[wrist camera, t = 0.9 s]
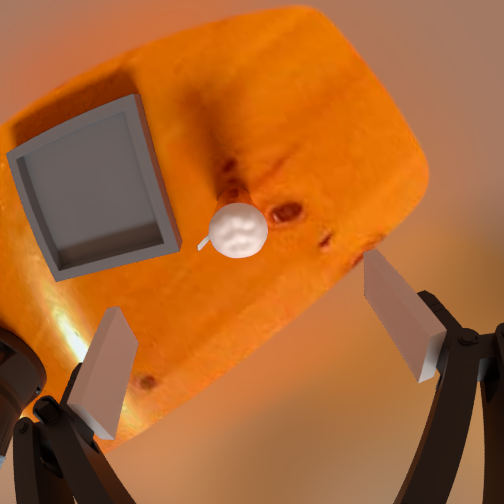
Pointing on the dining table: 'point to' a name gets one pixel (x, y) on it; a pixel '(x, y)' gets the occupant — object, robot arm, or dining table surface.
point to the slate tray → (95, 191)
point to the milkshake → (236, 225)
